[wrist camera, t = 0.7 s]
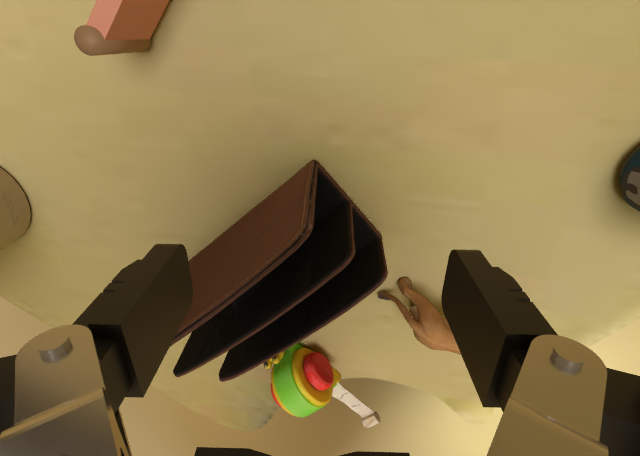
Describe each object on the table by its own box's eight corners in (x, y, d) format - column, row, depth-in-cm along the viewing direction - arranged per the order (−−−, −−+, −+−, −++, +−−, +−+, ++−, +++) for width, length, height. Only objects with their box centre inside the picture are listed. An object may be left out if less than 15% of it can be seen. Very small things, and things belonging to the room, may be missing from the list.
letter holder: (172, 272, 39) (93, 385, 26) (315, 155, 32) (300, 231, 20) (240, 329, 42) (198, 453, 29) (382, 234, 35) (406, 341, 23)
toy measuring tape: (289, 314, 40) (281, 361, 35) (393, 407, 47) (400, 460, 41) (249, 341, 43) (235, 389, 37) (353, 426, 49) (355, 479, 43)
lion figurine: (523, 290, 38) (573, 359, 30) (505, 329, 40) (546, 402, 32) (381, 272, 37) (393, 336, 29) (371, 312, 40) (380, 381, 32)
